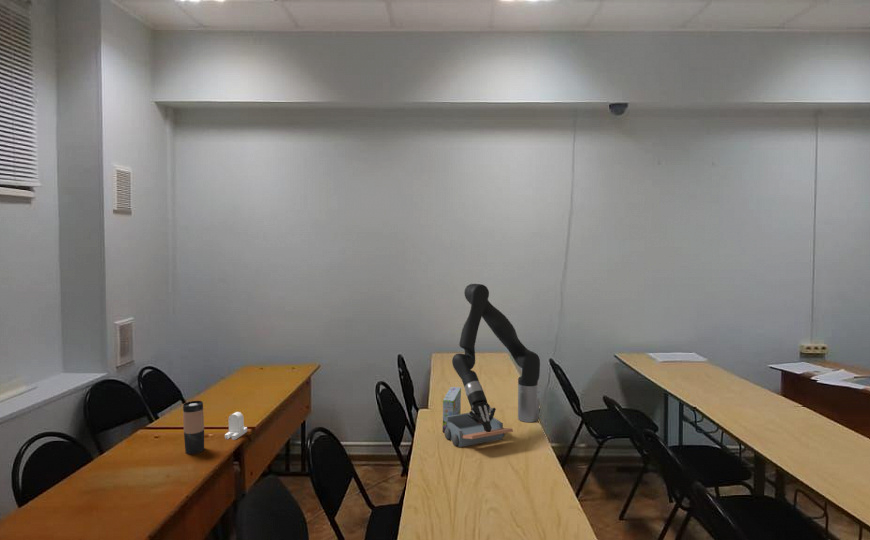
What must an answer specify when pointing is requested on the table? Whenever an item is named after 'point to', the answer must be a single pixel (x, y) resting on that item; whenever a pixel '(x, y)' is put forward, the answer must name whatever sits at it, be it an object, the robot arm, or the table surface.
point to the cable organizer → (236, 426)
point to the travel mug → (193, 427)
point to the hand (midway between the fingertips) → (489, 431)
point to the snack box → (451, 404)
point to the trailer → (468, 430)
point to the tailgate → (488, 433)
